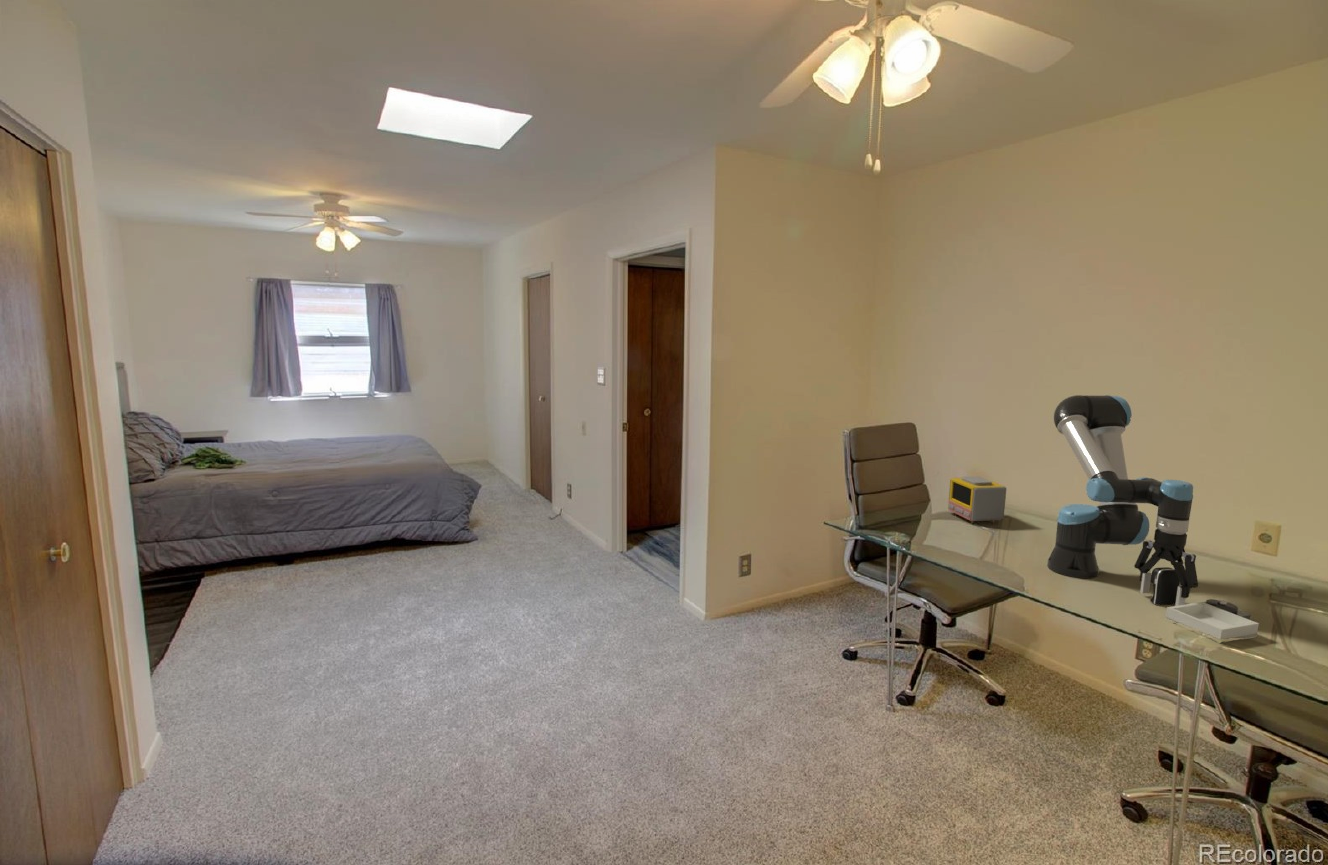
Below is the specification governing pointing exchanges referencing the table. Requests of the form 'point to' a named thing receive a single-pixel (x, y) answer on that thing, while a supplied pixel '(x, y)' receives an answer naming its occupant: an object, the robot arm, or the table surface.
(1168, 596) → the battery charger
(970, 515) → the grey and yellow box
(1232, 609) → the speaker
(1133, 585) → the table surface
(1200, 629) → the tray
